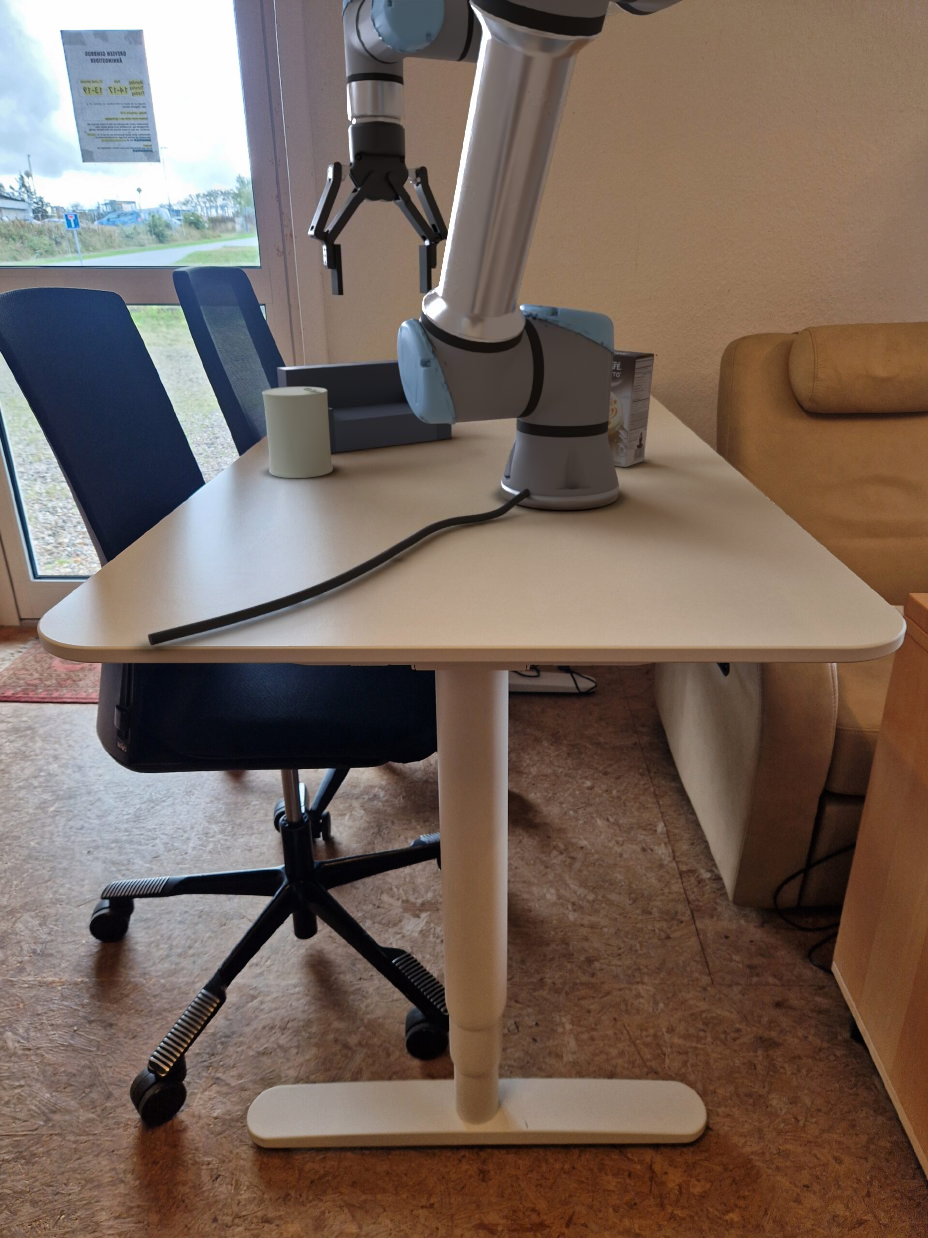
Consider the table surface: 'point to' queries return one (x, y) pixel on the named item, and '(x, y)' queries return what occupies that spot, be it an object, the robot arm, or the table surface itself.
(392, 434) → the couch
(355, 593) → the table surface
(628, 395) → the coffee box
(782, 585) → the table surface
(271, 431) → the can
